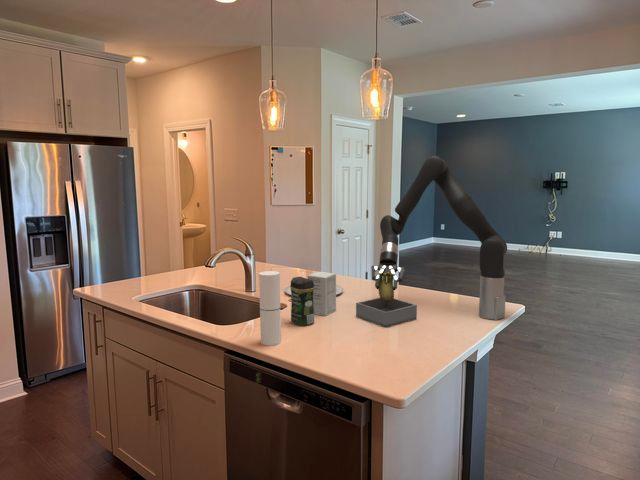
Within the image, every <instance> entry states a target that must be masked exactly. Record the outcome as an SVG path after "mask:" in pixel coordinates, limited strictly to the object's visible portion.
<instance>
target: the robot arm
mask: <svg viewBox="0 0 640 480" xmlns="http://www.w3.org/2000/svg"><path fill="white" fill-rule="evenodd" d="M432 182H434V183H435V184H436V185H437V186H438V187H439V188H440V189H441V191H442V193H443V195H444V197H445V200H446V201H447V203H448V205H449V207H450V208H451V210H452V212H453V213H454V215H455V216H456V217H457V218H458V220H459V221H461V223H462V224H463V225H464V226H465V227H466V228H468V229H469V230H471V231H472V232H473V234H475V236H476V237H477V238H478V240H479V242H480V248H479V271H480V276H479V277H480V278H479V279H480V280H479V281H480V282H479V297H478V299H479V300H478V301H479V303H478V316H479V317H480V318H482V319H487V320H493V319H494V321H498V320H501V319H503V318H505V317H506V314H505V313H506V295H505V294H504V289H505V274H506V273H505V272H506V271H505V269H504V258H505V257H504V256H505V255H506V253H507V252H508V244H507V243H506V241H505V239H504V238H503V237H502V236H501V235H500V234H499V233H498V231H496V230H495V228H494V227H493V226H492V225H491V223H489V221H488V219H487V218H486V216H485V214H484V213H483V212H482V211H481V209H480V207H479V206H478V204H477V203H476V202H475V201H474V199H473V198H472V197H471V195H470V194H469V193H468V191H467V190H466V189H465V188H464V187H463V186H462V185H461V184H460V183H459V182H458V180H457V179H456V178H455V176H454V174H453V173H452V171H451V169H450V168H449V166H448V164H447V163H446V161H445V160H444V159H443V158H441V156H438V155H431V156H429V157H427V158H426V159H425V161H424V162H423V163H422V165H421V167H420V170H419V171H418V173H417V176H416V177H415V179H414V180H413V182H412V183H411V185H410V187H409V188H408V190H407V191H406V192H405V194H404V195H403V197H401V199H400V201H398V203H397V204H396V206H395V208H394V211H395V213H396V214H397V215H398V218H395V217H393V216H392V215H389V214H388V215H384V216H383V217H382V218H381V221H380V223H379V228H380V233H381V234H380V235H381V238H382V239H381V248H380V255H379V263H378V265H377V266H374V265H371V266H370V267H371V269H370V271H371V280H372V281H375V282H374V283H375V284H374V287H375V288H376V290H379V273H382V278H383V273H387V274H388V272H389V273H392V274H394V275H393V290H394V291H396V290H398V289H397V288H398V284H399V282H400V283H401V282H403V279H404V275H405V267H404V266H402V267H398V259H399V258H398V257H399V235H400V234H401V233H402V232H403V231H404V228H405V226H406V223H407V221H408V219H409V217H410V215H411V214H412V212H413V211H414V210H415V208H416V207H417V206H418V204H419V202H420V200H421V199H422V196H423V194H424V193H425V191H426V189H427V188H428V186H429V185H430V184H431V183H432ZM377 271H378V273H377V275H375V274H376V272H377ZM397 272H398V274H399V277H397V274H396V273H397ZM386 277H387V275H386Z"/></svg>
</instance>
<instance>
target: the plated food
mask: <svg viewBox="0 0 640 480" xmlns="http://www.w3.org/2000/svg"><path fill="white" fill-rule="evenodd" d="M290 286H291V285H288V286H286V287H285V288H284V293H286V294H287V295H290V296H292V295H291V287H290ZM343 292H344V288H343V287H342V286H341V285H338V284H336V296H337V295H340V294H342V293H343Z"/></svg>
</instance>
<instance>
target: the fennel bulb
mask: <svg viewBox="0 0 640 480" xmlns="http://www.w3.org/2000/svg"><path fill="white" fill-rule="evenodd" d="M378 273H379V272H378ZM386 275H387V276H386ZM393 275H394V274H392V273H389V272H388V274H387V273H383V277H382V273H379V289H378V296H379V298H380V299H381V300H382V301H385V302H390V301H392V300H393V298H394V297H395V290H393V286H394V279H393ZM394 299H395V298H394Z"/></svg>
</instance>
